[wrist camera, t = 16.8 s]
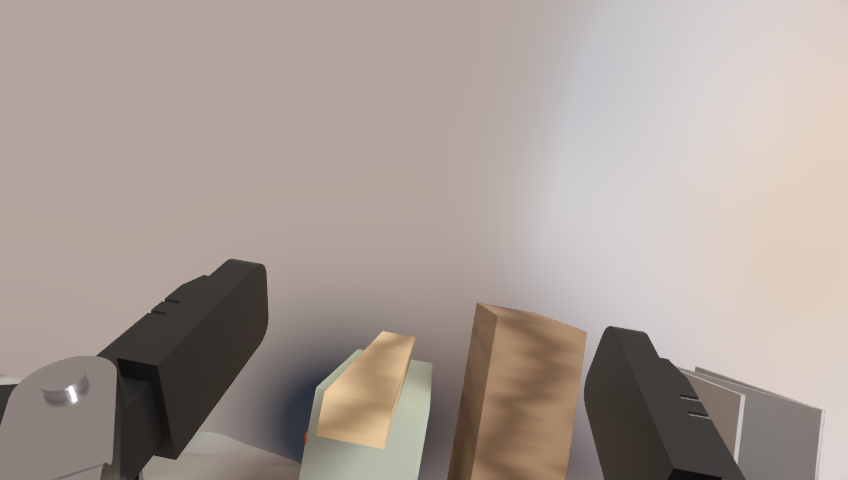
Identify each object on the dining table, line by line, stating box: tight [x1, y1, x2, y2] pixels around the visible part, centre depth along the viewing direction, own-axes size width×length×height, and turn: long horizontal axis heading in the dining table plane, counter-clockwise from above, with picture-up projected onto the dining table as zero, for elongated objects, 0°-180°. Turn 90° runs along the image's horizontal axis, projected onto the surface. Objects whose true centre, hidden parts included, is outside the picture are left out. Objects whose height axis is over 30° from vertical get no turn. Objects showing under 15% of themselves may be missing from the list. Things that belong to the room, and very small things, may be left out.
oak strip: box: [316, 331, 415, 449], centre depth 39 cm, size 4×28×2 cm, turn 178°
